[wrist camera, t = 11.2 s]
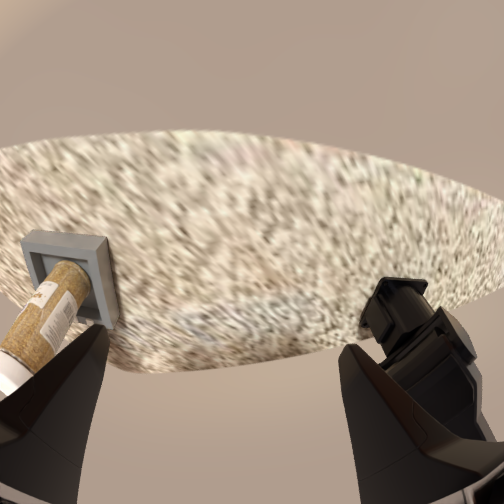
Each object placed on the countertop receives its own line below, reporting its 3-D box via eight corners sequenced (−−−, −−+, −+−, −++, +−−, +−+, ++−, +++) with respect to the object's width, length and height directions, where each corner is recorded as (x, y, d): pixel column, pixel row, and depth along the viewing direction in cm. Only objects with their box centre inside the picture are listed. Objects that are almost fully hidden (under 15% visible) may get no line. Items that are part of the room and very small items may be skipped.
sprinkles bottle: (57, 250, 20) (-23, 358, 9) (96, 272, 22) (29, 396, 10) (53, 283, 22) (-10, 385, 11) (88, 304, 24) (36, 416, 12)
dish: (106, 236, 21) (94, 251, 19) (119, 314, 25) (112, 331, 23) (32, 229, 20) (18, 242, 18) (53, 300, 24) (43, 315, 22)
